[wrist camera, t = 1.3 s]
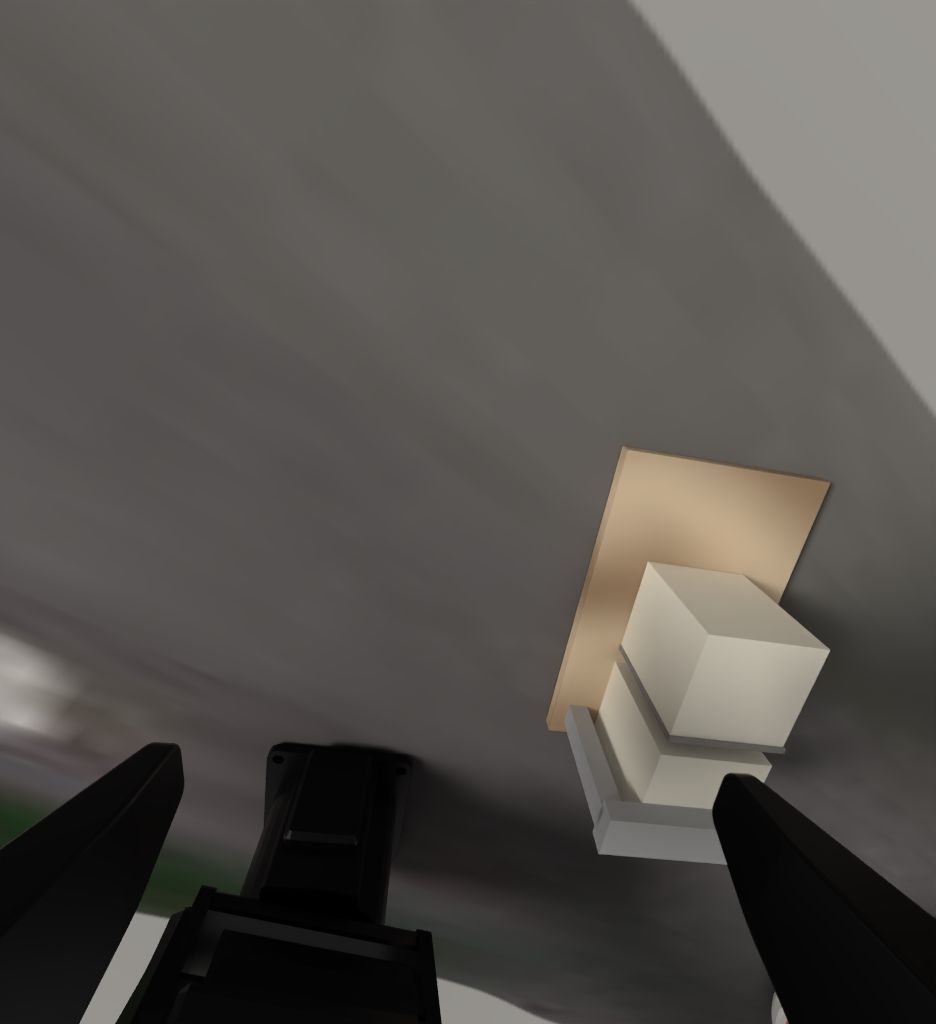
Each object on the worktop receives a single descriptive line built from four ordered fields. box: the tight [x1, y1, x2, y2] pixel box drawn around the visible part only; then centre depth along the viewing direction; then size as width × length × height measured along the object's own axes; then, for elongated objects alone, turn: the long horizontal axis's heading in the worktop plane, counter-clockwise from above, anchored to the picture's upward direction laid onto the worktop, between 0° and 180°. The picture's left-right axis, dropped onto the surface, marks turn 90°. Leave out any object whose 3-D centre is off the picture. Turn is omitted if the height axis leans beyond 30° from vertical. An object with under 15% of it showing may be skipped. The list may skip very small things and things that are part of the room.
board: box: [546, 446, 830, 735], centre depth 21 cm, size 13×8×1 cm, turn 170°
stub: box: [619, 561, 830, 754], centre depth 19 cm, size 4×4×5 cm
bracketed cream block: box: [564, 661, 772, 865], centre depth 20 cm, size 4×7×6 cm, turn 80°
